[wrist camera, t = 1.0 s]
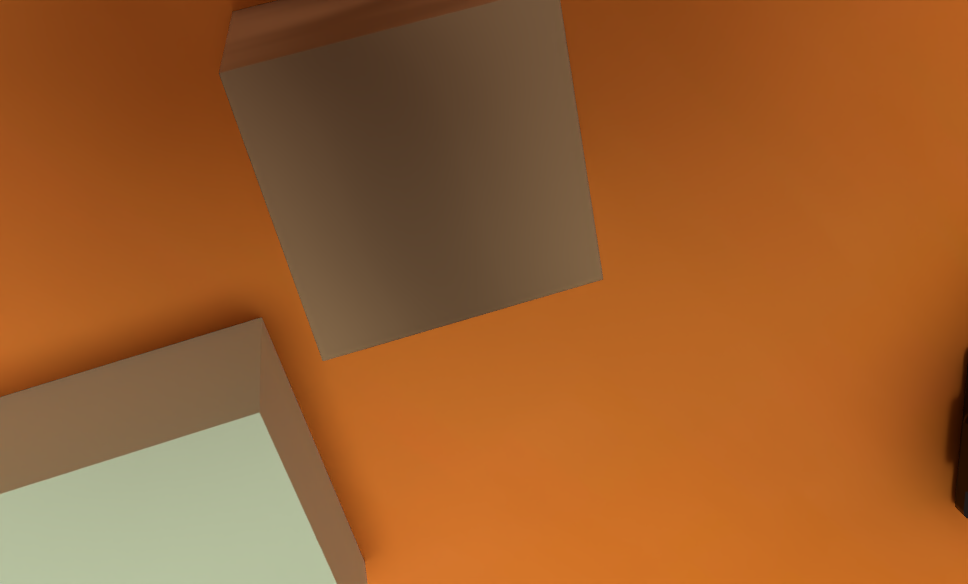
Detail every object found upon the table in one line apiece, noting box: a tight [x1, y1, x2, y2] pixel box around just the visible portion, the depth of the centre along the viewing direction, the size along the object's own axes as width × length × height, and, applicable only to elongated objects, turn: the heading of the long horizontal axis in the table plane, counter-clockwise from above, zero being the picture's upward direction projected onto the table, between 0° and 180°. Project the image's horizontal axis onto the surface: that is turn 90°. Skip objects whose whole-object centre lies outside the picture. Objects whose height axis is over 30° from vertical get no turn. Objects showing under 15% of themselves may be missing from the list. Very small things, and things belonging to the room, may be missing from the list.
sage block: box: [0, 317, 367, 584], centre depth 20 cm, size 8×8×4 cm
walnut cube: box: [219, 0, 603, 361], centre depth 16 cm, size 5×5×5 cm
